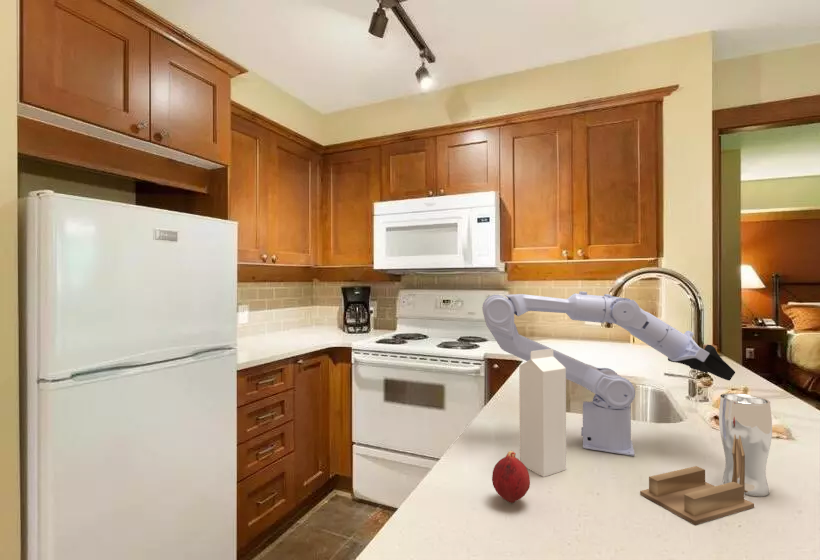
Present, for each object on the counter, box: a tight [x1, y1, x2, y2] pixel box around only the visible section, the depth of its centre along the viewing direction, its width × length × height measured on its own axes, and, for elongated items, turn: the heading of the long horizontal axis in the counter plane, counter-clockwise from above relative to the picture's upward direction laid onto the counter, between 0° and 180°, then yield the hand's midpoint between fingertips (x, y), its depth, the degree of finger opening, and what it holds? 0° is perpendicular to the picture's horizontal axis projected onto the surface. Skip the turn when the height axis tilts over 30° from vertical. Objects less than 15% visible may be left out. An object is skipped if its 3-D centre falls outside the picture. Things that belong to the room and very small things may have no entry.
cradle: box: [639, 465, 755, 526], centre depth 65 cm, size 9×13×3 cm
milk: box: [518, 348, 567, 478], centre depth 77 cm, size 6×6×22 cm
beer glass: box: [718, 392, 773, 498], centre depth 70 cm, size 7×7×15 cm
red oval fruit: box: [491, 450, 531, 504], centre depth 65 cm, size 6×6×8 cm
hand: (719, 372), depth 84 cm, fingers open, 7 cm apart
